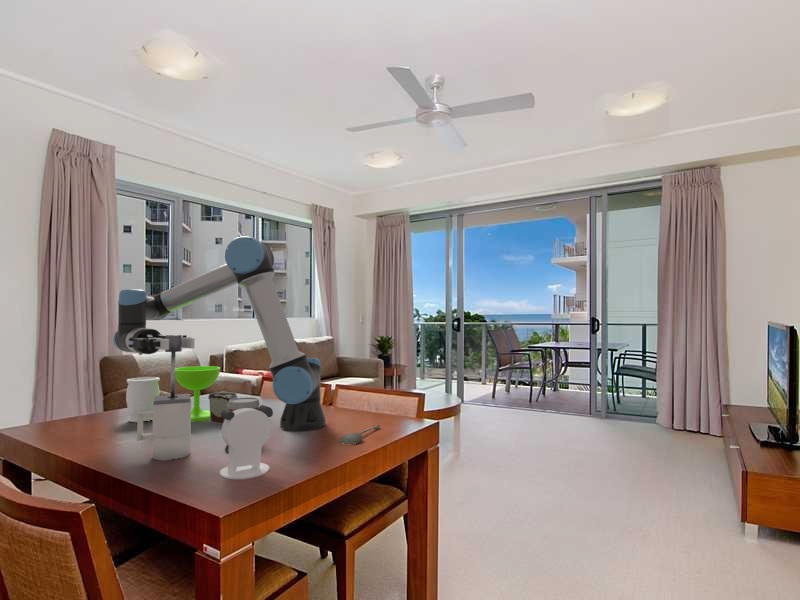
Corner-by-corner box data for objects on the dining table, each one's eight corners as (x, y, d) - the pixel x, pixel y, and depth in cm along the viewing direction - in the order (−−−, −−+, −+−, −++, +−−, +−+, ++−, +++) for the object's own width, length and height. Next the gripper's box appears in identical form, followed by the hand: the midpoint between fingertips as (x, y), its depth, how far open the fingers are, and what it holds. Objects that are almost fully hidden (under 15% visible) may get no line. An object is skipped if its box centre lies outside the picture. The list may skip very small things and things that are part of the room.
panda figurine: (259, 460, 121) (260, 402, 121) (280, 471, 112) (280, 408, 113) (212, 470, 113) (213, 408, 113) (230, 482, 104) (231, 415, 105)
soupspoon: (334, 447, 137) (354, 451, 134) (334, 436, 136) (354, 439, 134) (370, 428, 157) (387, 431, 154) (370, 418, 157) (387, 421, 154)
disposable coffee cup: (266, 437, 144) (266, 398, 144) (246, 445, 135) (246, 403, 135) (240, 434, 147) (240, 396, 147) (219, 442, 138) (220, 401, 138)
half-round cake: (245, 422, 164) (245, 393, 164) (230, 425, 159) (230, 396, 159) (222, 418, 170) (223, 390, 171) (207, 421, 165) (208, 393, 166)
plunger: (180, 397, 128) (181, 334, 129) (180, 399, 125) (181, 335, 125) (164, 398, 126) (165, 335, 127) (164, 400, 123) (165, 335, 123)
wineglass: (164, 417, 171) (165, 368, 172) (206, 411, 183) (207, 365, 184) (185, 424, 161) (186, 372, 161) (227, 416, 173) (228, 368, 174)
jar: (165, 417, 172) (165, 376, 172) (147, 423, 161) (148, 380, 162) (138, 416, 173) (139, 376, 173) (118, 423, 162) (119, 380, 163)
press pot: (189, 448, 131) (190, 393, 132) (190, 457, 123) (191, 398, 123) (138, 454, 126) (139, 396, 126) (135, 464, 117) (136, 402, 118)
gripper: (176, 351, 145) (214, 355, 131) (108, 355, 131) (141, 360, 116) (177, 327, 146) (214, 329, 131) (109, 329, 131) (142, 330, 116)
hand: (180, 343), depth 123 cm, fingers open, 6 cm apart
